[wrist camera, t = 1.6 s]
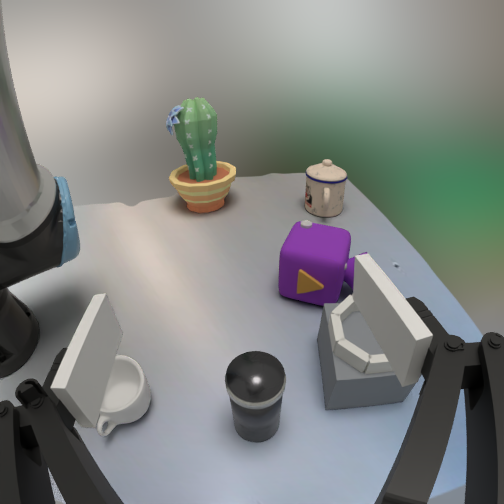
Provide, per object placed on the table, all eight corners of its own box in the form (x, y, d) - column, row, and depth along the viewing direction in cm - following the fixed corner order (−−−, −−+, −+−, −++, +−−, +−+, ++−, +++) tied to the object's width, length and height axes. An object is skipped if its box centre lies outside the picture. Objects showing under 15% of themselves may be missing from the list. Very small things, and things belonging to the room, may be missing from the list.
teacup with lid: (304, 198, 76) (306, 152, 69) (341, 201, 75) (346, 155, 68) (302, 223, 67) (305, 171, 60) (345, 227, 65) (352, 175, 59)
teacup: (112, 373, 38) (98, 349, 35) (164, 385, 37) (153, 361, 34) (85, 435, 30) (65, 416, 27) (141, 454, 29) (124, 438, 26)
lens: (231, 442, 31) (221, 399, 24) (234, 402, 35) (226, 349, 28) (280, 443, 31) (287, 400, 24) (279, 403, 35) (285, 349, 28)
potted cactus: (189, 187, 83) (179, 94, 68) (245, 191, 80) (242, 92, 65) (162, 216, 71) (145, 108, 56) (226, 223, 68) (219, 104, 53)
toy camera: (365, 315, 46) (380, 263, 40) (275, 307, 48) (277, 253, 42) (360, 270, 54) (371, 221, 48) (283, 263, 56) (285, 213, 50)
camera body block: (325, 409, 34) (340, 369, 28) (317, 339, 43) (326, 291, 37) (403, 401, 33) (430, 360, 28) (384, 335, 42) (402, 289, 37)
